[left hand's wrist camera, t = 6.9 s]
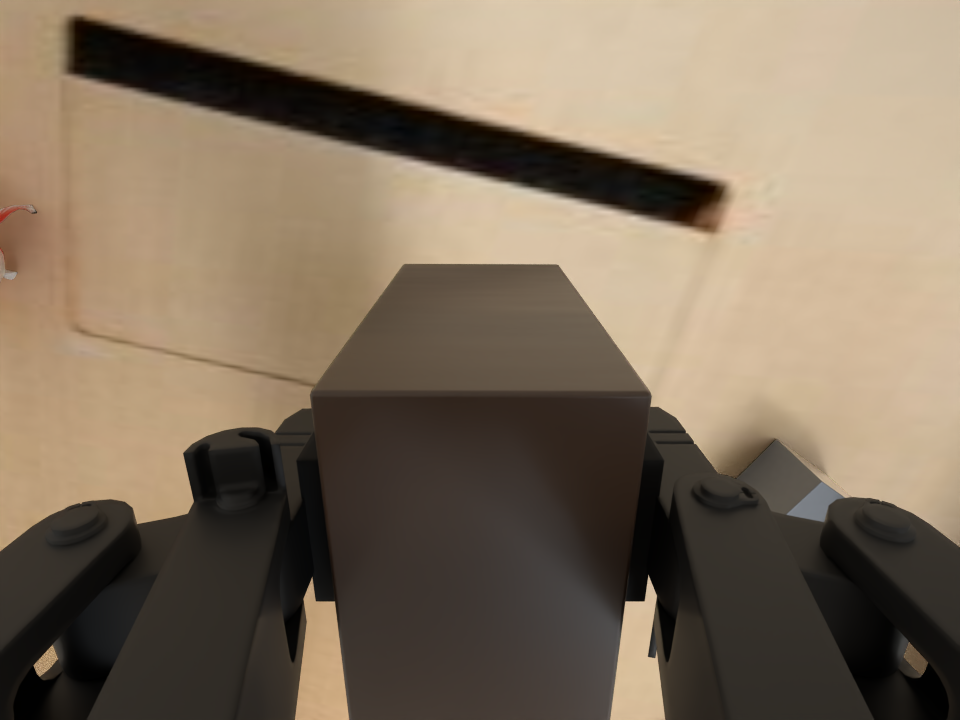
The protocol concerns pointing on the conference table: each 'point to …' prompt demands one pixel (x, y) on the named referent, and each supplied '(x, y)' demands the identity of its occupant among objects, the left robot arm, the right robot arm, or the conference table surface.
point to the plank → (480, 497)
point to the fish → (3, 214)
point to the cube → (791, 483)
